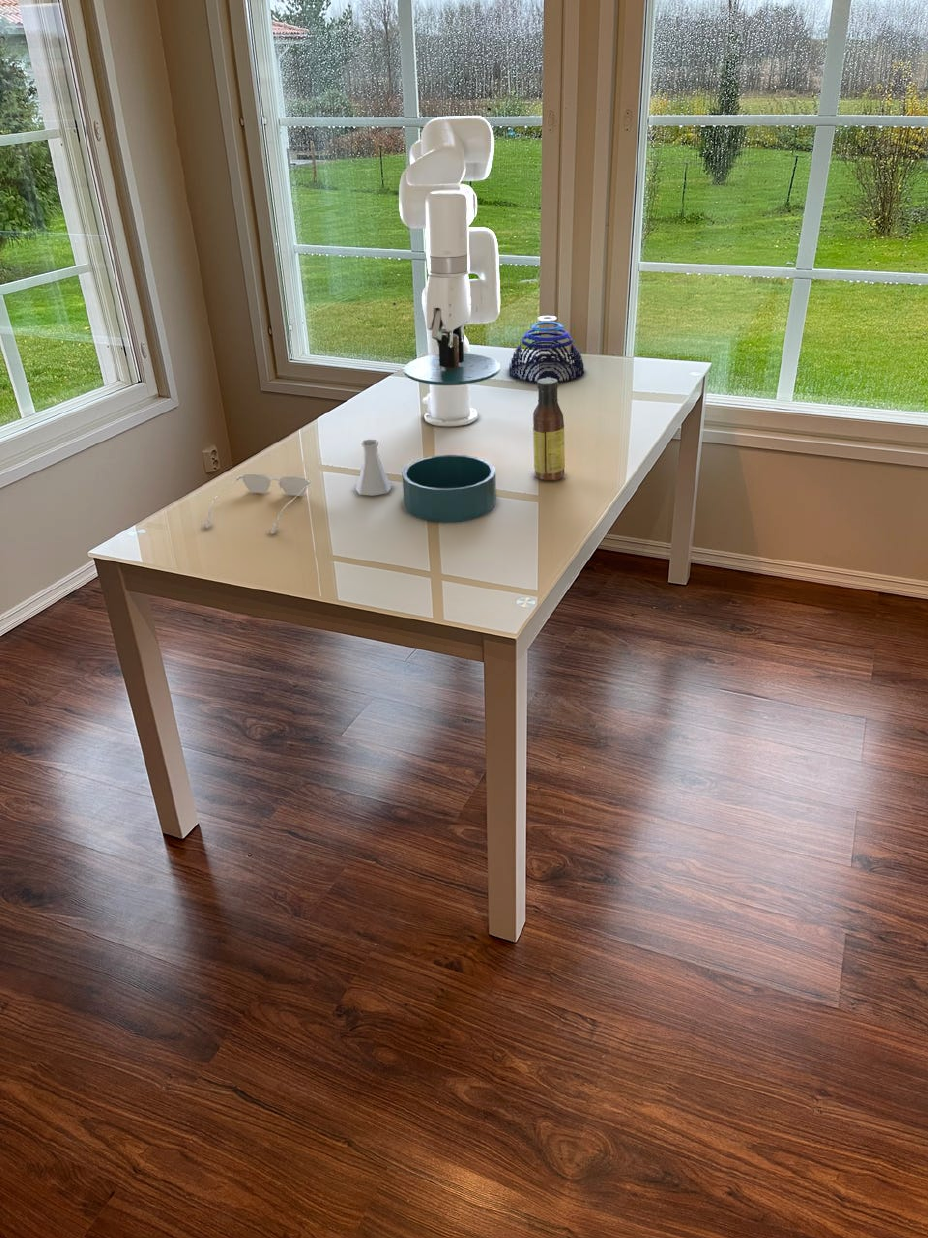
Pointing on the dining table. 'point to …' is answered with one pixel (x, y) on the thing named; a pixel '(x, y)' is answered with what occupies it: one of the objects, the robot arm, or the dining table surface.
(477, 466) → the pot
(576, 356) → the decorative bowl
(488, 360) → the lid
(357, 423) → the dining table surface
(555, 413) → the sauce bottle
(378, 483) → the flask
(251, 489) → the eyeglasses
